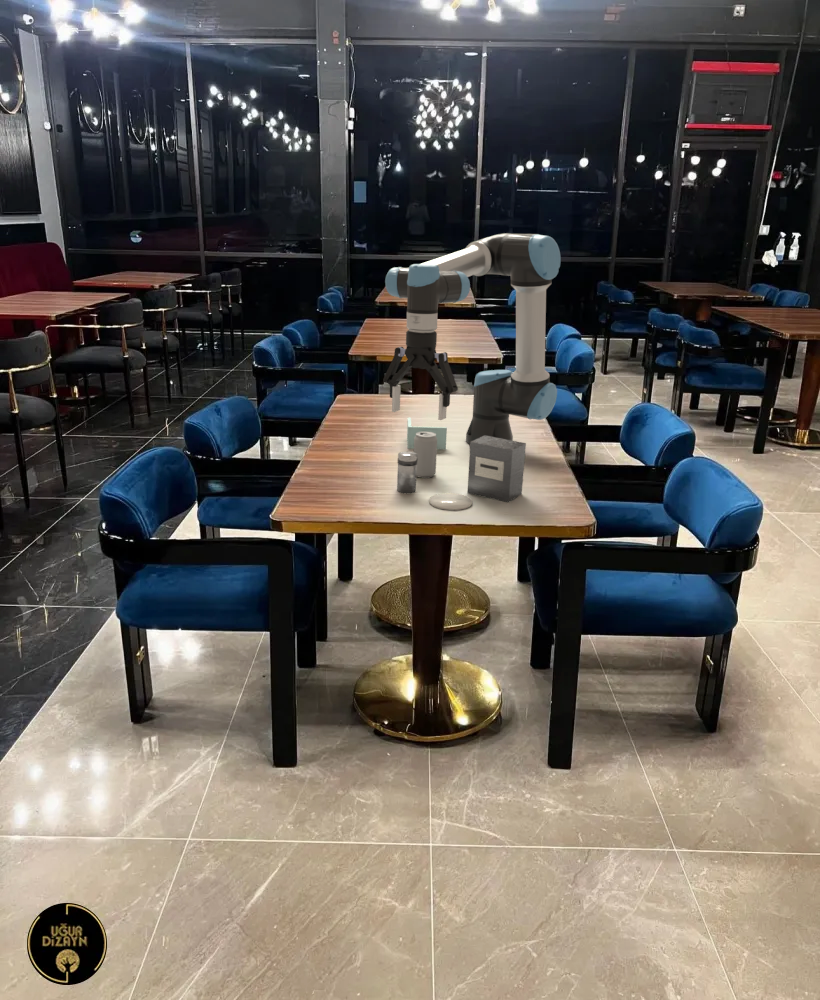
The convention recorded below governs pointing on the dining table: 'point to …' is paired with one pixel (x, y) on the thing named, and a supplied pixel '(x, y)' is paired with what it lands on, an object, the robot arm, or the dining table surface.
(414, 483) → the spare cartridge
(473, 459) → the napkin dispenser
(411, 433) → the l-shaped corner panel
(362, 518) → the dining table surface
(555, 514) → the dining table surface
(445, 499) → the stone coaster
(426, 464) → the beverage can
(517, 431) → the dining table surface
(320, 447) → the dining table surface
